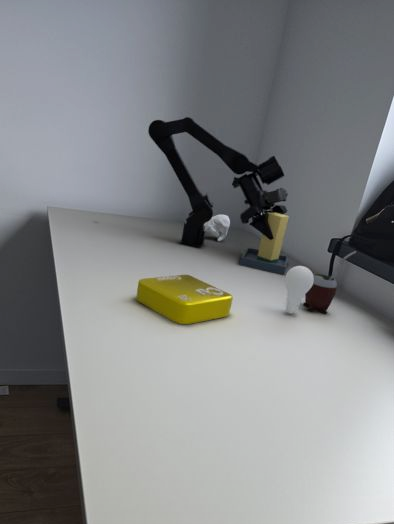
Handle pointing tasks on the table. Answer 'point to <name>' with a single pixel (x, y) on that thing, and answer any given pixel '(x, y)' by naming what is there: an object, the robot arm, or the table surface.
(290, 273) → the lightbulb
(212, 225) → the white irregular rounded piece
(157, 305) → the element tile
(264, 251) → the sponge
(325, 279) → the mate gourd
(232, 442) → the table surface
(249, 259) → the tray
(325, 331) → the table surface
